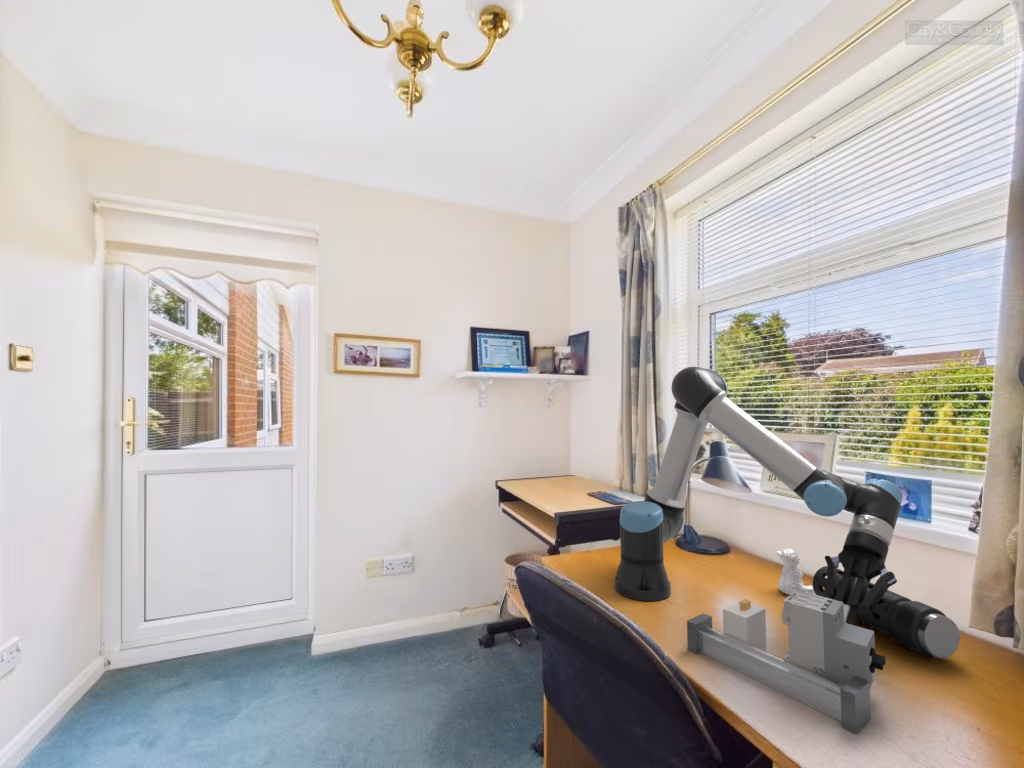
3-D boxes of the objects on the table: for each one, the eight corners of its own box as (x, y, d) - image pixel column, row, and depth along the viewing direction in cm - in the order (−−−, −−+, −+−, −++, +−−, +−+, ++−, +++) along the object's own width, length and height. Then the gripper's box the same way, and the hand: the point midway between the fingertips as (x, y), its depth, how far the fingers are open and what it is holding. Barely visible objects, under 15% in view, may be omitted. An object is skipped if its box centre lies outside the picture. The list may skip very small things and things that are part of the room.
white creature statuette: (821, 596, 122) (819, 551, 123) (801, 602, 118) (800, 556, 119) (787, 584, 131) (785, 542, 131) (767, 589, 127) (766, 546, 128)
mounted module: (723, 652, 94) (722, 602, 95) (743, 642, 99) (741, 593, 99) (747, 664, 90) (746, 610, 91) (766, 652, 95) (765, 601, 95)
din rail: (687, 649, 96) (686, 620, 96) (704, 641, 99) (703, 613, 99) (856, 734, 71) (855, 694, 71) (870, 719, 74) (869, 681, 75)
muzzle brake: (845, 604, 118) (843, 563, 118) (965, 664, 90) (962, 611, 91) (811, 606, 117) (810, 565, 117) (923, 668, 89) (920, 614, 89)
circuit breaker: (882, 721, 74) (878, 627, 75) (784, 682, 84) (781, 600, 85) (889, 700, 79) (885, 612, 80) (795, 666, 89) (793, 589, 90)
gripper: (829, 523, 106) (797, 613, 96) (900, 537, 95) (871, 641, 85) (839, 542, 109) (809, 632, 99) (909, 558, 98) (882, 660, 88)
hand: (838, 636), depth 92 cm, fingers closed
